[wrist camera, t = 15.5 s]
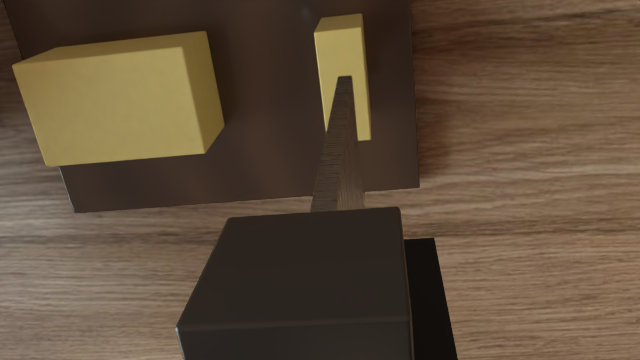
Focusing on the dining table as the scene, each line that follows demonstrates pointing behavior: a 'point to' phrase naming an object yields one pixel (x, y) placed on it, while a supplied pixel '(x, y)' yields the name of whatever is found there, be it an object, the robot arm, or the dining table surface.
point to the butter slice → (344, 65)
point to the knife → (308, 272)
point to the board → (243, 96)
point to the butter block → (122, 99)
